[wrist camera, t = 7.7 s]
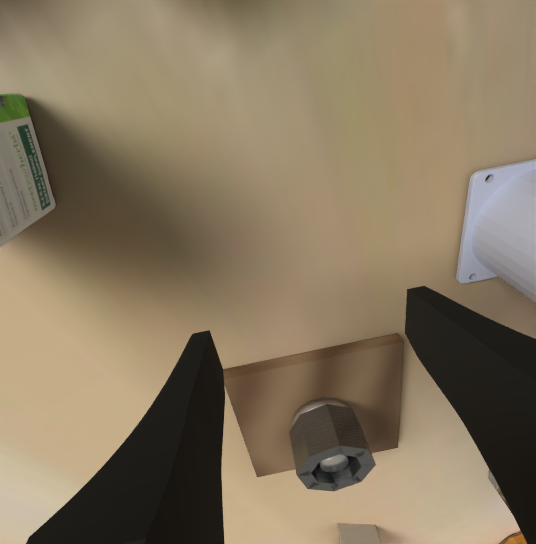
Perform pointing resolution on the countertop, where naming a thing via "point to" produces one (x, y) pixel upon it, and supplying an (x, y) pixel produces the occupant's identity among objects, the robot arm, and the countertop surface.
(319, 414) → the ring
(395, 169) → the countertop surface
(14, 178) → the syrup box
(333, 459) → the piston post
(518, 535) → the pancake mix bag
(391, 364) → the board
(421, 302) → the robot arm
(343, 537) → the architectural model
